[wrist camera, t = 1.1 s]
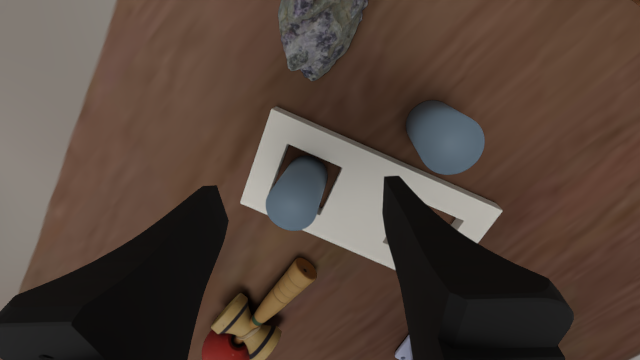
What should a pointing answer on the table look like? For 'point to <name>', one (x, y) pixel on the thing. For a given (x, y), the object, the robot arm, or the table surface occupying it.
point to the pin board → (358, 187)
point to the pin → (297, 194)
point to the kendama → (255, 319)
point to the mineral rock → (317, 32)
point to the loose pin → (444, 137)
